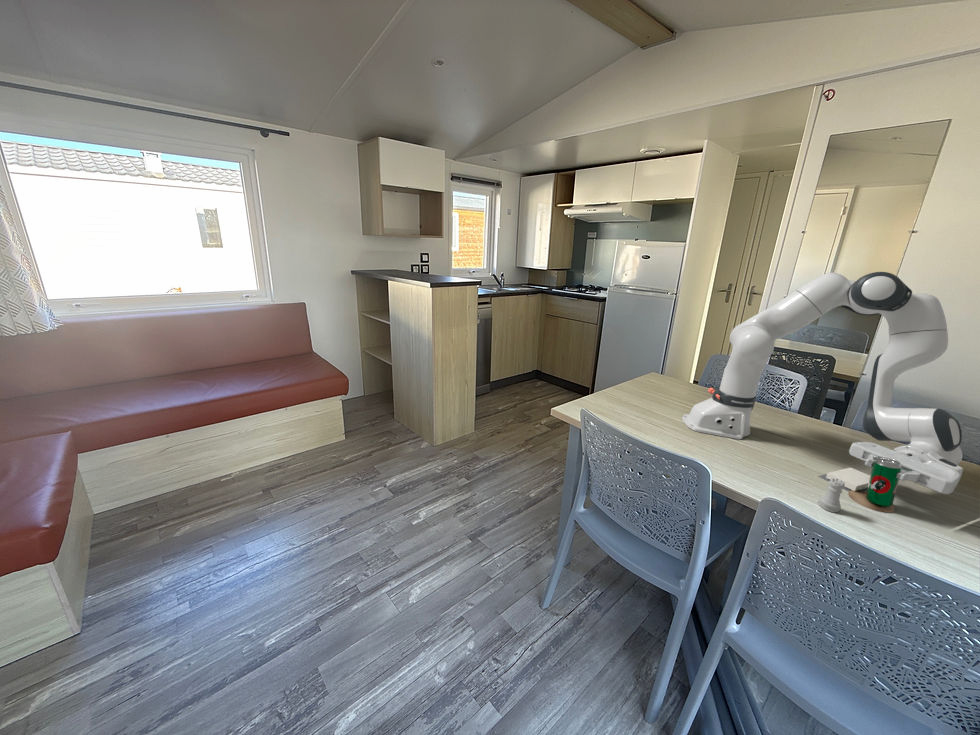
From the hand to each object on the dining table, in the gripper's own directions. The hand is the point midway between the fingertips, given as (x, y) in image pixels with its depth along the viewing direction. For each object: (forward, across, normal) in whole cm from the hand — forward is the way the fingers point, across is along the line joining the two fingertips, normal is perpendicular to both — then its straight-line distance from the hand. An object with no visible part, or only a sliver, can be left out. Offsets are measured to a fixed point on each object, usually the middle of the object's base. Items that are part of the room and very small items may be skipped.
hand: (883, 469), depth 98 cm
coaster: (-1, 0, +10) cm, 10 cm away
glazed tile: (-12, -8, +9) cm, 17 cm away
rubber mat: (-7, -8, +10) cm, 15 cm away
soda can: (-1, +1, +10) cm, 10 cm away
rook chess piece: (+13, -2, +10) cm, 17 cm away
